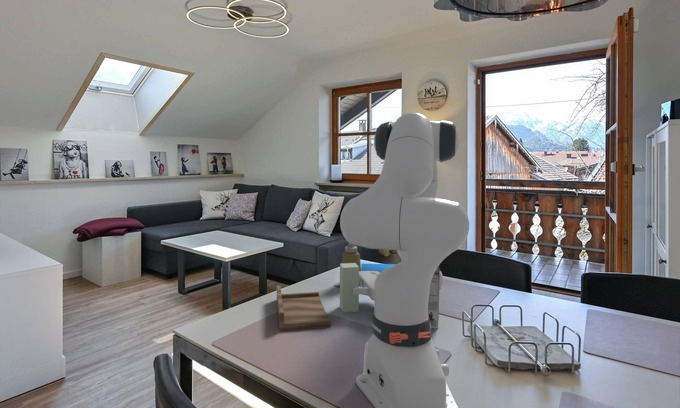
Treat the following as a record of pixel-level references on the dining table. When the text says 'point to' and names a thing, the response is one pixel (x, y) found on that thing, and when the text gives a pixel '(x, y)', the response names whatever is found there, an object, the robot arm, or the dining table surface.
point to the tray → (300, 311)
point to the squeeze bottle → (351, 255)
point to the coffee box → (434, 299)
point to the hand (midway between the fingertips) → (349, 285)
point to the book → (375, 267)
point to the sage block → (349, 287)
